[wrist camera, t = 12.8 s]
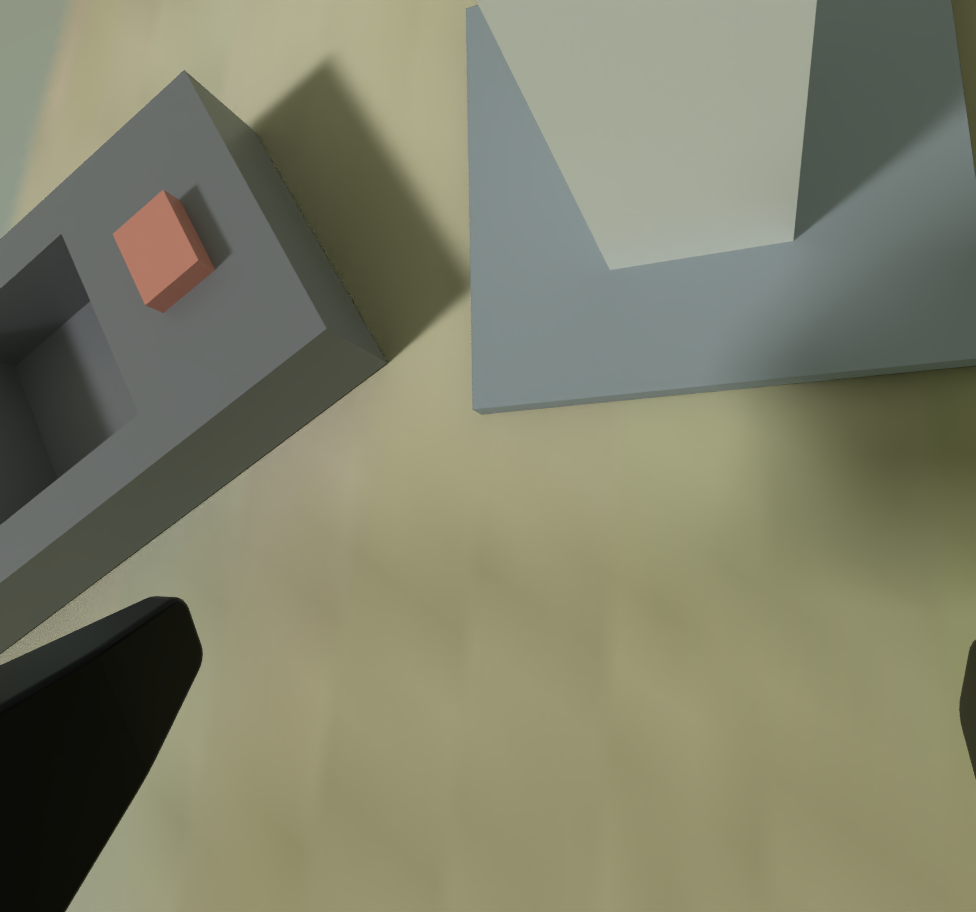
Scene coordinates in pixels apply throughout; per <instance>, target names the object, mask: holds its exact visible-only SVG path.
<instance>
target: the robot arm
mask: <svg viewBox="0 0 976 912" xmlns="http://www.w3.org/2000/svg"><path fill="white" fill-rule="evenodd" d="M202 656H203V652H202V646H201V643H200V640H199V637H198V634H197V631H196V628H195V625H194V622H193V619H192V616H191V614H190V611H189V608H188V606H187V604H186V603H185V602H184V601H183V600H182V599H180V598H177V597H160V596H154V597H149V598H146V599H144V600H142V601H140V602H138V603H135V604H133V605H131V606H129V607H127V608H125V609H122V610H120V611H118V612H116V613H114V614H111V615H109V616H107V617H105V618H103V619H101V620H98V621H96V622H94V623H92V624H90V625H87V626H85V627H83V628H81V629H79V630H77V631H74V632H72V633H70V634H68V635H66V636H63V637H61V638H59V639H57V640H55V641H53V642H50V643H48V644H46V645H44V646H42V647H39V648H37V649H35V650H33V651H31V652H29V653H26V654H24V655H22V656H20V657H18V658H15V659H13V660H11V661H9V662H7V663H5V664H2V665H0V912H65V911H66V910H67V908H68V906H69V905H70V903H71V901H72V900H73V898H74V897H75V895H76V893H77V892H78V890H79V888H80V887H81V885H82V883H83V882H84V880H85V878H86V877H87V875H88V873H89V872H90V870H91V868H92V867H93V865H94V863H95V862H96V860H97V858H98V857H99V855H100V853H101V852H102V850H103V848H104V847H105V845H106V843H107V842H108V840H109V838H110V837H111V835H112V834H113V832H114V830H115V829H116V827H117V825H118V824H119V822H120V820H121V819H122V817H123V815H124V814H125V812H126V810H127V809H128V807H129V805H130V804H131V802H132V800H133V799H134V797H135V795H136V794H137V792H138V790H139V789H140V787H141V785H142V783H143V782H144V780H145V778H146V776H147V775H148V773H149V771H150V769H151V767H152V765H153V763H154V761H155V759H156V757H157V755H158V753H159V751H160V749H161V747H162V745H163V743H164V741H165V739H166V737H167V735H168V733H169V731H170V729H171V726H172V724H173V722H174V720H175V718H176V716H177V714H178V712H179V710H180V708H181V706H182V704H183V702H184V700H185V698H186V696H187V694H188V691H189V689H190V687H191V685H192V683H193V681H194V679H195V677H196V675H197V673H198V671H199V669H200V666H201V662H202ZM959 711H960V721H961V726H962V730H963V734H964V737H965V741H966V745H967V749H968V752H969V756H970V760H971V763H972V767H973V771H974V775H975V778H976V640H975V641H973V643H972V645H971V647H970V650H969V654H968V660H967V665H966V670H965V676H964V681H963V686H962V691H961V697H960V706H959Z"/></svg>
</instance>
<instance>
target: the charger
mask: <svg viewBox="0 0 976 912" xmlns="http://www.w3.org/2000/svg"><path fill="white" fill-rule="evenodd" d="M476 1H477V3H478V5H479V7H480V9H481V11H482V13H483V15H484V17H485V19H486V21H487V23H488V25H489V27H490V29H491V31H492V33H493V35H494V37H495V39H496V41H497V43H498V45H499V47H500V49H501V51H502V54H503V56H504V58H505V60H506V62H507V64H508V66H509V68H510V70H511V72H512V74H513V76H514V78H515V80H516V82H517V84H518V86H519V88H520V90H521V92H522V94H523V96H524V98H525V100H526V102H527V104H528V106H529V108H530V110H531V112H532V114H533V116H534V118H535V120H536V122H537V124H538V126H539V128H540V130H541V132H542V134H543V136H544V138H545V140H546V142H547V144H548V146H549V148H550V150H551V152H552V154H553V156H554V158H555V160H556V162H557V164H558V166H559V168H560V170H561V172H562V174H563V176H564V179H565V181H566V183H567V185H568V187H569V189H570V191H571V193H572V195H573V197H574V199H575V201H576V203H577V205H578V207H579V209H580V211H581V213H582V215H583V217H584V219H585V221H586V223H587V225H588V227H589V229H590V231H591V233H592V235H593V237H594V239H595V241H596V243H597V245H598V247H599V249H600V251H601V253H602V255H603V257H604V259H605V261H606V263H607V265H608V267H609V269H610V270H614V269H620V268H626V267H633V266H639V265H645V264H652V263H658V262H664V261H671V260H677V259H683V258H689V257H696V256H702V255H708V254H715V253H721V252H727V251H734V250H740V249H746V248H753V247H759V246H765V245H771V244H778V243H784V242H790V241H793V239H794V229H795V219H796V209H797V198H798V188H799V178H800V168H801V158H802V148H803V137H804V127H805V117H806V107H807V97H808V86H809V76H810V66H811V56H812V46H813V36H814V25H815V15H816V5H817V0H476Z"/></svg>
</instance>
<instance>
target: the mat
mask: <svg viewBox="0 0 976 912" xmlns="http://www.w3.org/2000/svg"><path fill="white" fill-rule="evenodd" d="M466 43H467V102H468V161H469V219H470V278H471V337H472V396H473V410H475V411H476V412H478V413H480V414H490V413H500V412H510V411H520V410H530V409H541V408H551V407H561V406H571V405H581V404H591V403H601V402H612V401H622V400H632V399H642V398H652V397H662V396H672V395H683V394H693V393H703V392H713V391H723V390H733V389H743V388H754V387H764V386H774V385H784V384H794V383H804V382H815V381H825V380H835V379H845V378H855V377H865V376H875V375H886V374H896V373H906V372H916V371H926V370H936V369H946V368H957V367H967V366H976V177H975V170H974V163H973V155H972V148H971V141H970V133H969V126H968V119H967V111H966V104H965V97H964V89H963V82H962V75H961V68H960V60H959V53H958V46H957V38H956V31H955V24H954V16H953V9H952V2H951V0H817V5H816V15H815V25H814V36H813V46H812V56H811V66H810V76H809V86H808V97H807V107H806V117H805V127H804V137H803V148H802V158H801V168H800V178H799V188H798V198H797V209H796V219H795V229H794V239H793V241H790V242H784V243H778V244H771V245H765V246H759V247H753V248H746V249H740V250H734V251H727V252H721V253H715V254H708V255H702V256H696V257H689V258H683V259H677V260H671V261H664V262H658V263H652V264H645V265H639V266H633V267H626V268H620V269H614V270H610V269H609V267H608V265H607V263H606V261H605V259H604V257H603V255H602V253H601V251H600V249H599V247H598V245H597V243H596V241H595V239H594V237H593V235H592V233H591V231H590V229H589V227H588V225H587V223H586V221H585V219H584V217H583V215H582V213H581V211H580V209H579V207H578V205H577V203H576V201H575V199H574V197H573V195H572V193H571V191H570V189H569V187H568V185H567V183H566V181H565V179H564V176H563V174H562V172H561V170H560V168H559V166H558V164H557V162H556V160H555V158H554V156H553V154H552V152H551V150H550V148H549V146H548V144H547V142H546V140H545V138H544V136H543V134H542V132H541V130H540V128H539V126H538V124H537V122H536V120H535V118H534V116H533V114H532V112H531V110H530V108H529V106H528V104H527V102H526V100H525V98H524V96H523V94H522V92H521V90H520V88H519V86H518V84H517V82H516V80H515V78H514V76H513V74H512V72H511V70H510V68H509V66H508V64H507V62H506V60H505V58H504V56H503V54H502V51H501V49H500V47H499V45H498V43H497V41H496V39H495V37H494V35H493V33H492V31H491V29H490V27H489V25H488V23H487V21H486V19H485V17H484V15H483V13H482V11H481V9H480V7H479V5H476V6H472V7H469V8H466Z"/></svg>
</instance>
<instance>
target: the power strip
mask: <svg viewBox="0 0 976 912" xmlns="http://www.w3.org/2000/svg"><path fill="white" fill-rule="evenodd" d="M385 364H387V361H386V360H385V358H384V356H383V354H382V353H381V351H380V349H379V347H378V346H377V344H376V342H375V340H374V339H373V337H372V335H371V333H370V332H369V330H368V328H367V326H366V325H365V323H364V321H363V319H362V318H361V316H360V314H359V312H358V311H357V309H356V307H355V305H354V304H353V302H352V300H351V298H350V297H349V295H348V293H347V291H346V290H345V288H344V286H343V284H342V283H341V281H340V279H339V277H338V276H337V274H336V272H335V271H334V269H333V267H332V265H331V264H330V262H329V260H328V258H327V257H326V255H325V253H324V251H323V250H322V248H321V246H320V244H319V243H318V241H317V239H316V237H315V236H314V234H313V232H312V230H311V229H310V227H309V225H308V223H307V222H306V220H305V218H304V216H303V215H302V213H301V211H300V209H299V208H298V206H297V204H296V202H295V201H294V199H293V197H292V195H291V194H290V192H289V190H288V188H287V187H286V185H285V183H284V181H283V180H282V178H281V176H280V174H279V173H278V171H277V169H276V167H275V166H274V164H273V162H272V160H271V159H270V157H269V155H268V154H267V152H266V150H265V148H264V147H263V145H262V143H261V141H260V140H259V138H258V136H257V134H256V133H255V131H253V130H252V129H251V128H250V127H249V126H248V125H247V124H245V123H244V122H243V121H242V120H241V119H240V118H239V117H237V116H236V115H235V114H234V113H233V112H232V111H231V110H229V109H228V108H227V107H226V106H225V105H224V104H223V103H221V102H220V101H219V100H218V99H217V98H216V97H215V96H213V95H212V94H211V93H210V92H209V91H208V90H207V89H205V88H204V87H203V86H202V85H201V84H200V83H199V82H197V81H196V80H195V79H194V78H193V77H192V76H191V75H189V74H188V73H187V72H186V71H185V70H184V71H183V72H182V73H181V74H179V75H178V76H177V77H176V78H175V79H174V80H173V81H172V82H171V83H170V84H169V85H167V86H166V87H165V88H164V89H163V90H162V91H161V92H160V93H159V94H158V95H157V96H156V97H154V98H153V99H152V100H151V101H150V102H149V103H148V104H147V105H146V106H145V107H144V108H142V109H141V110H140V111H139V112H138V113H137V114H136V115H135V116H134V117H133V118H132V119H131V120H129V121H128V122H127V123H126V124H125V125H124V126H123V127H122V128H121V129H120V130H119V131H118V132H116V133H115V134H114V135H113V136H112V137H111V138H110V139H109V140H108V141H107V142H106V143H104V144H103V145H102V146H101V147H100V148H99V149H98V150H97V151H96V152H95V153H94V154H93V155H91V156H90V157H89V158H88V159H87V160H86V161H85V162H84V163H83V164H82V165H81V166H80V167H78V168H77V169H76V170H75V171H74V172H73V173H72V174H71V175H70V176H69V177H68V178H66V179H65V180H64V181H63V182H62V183H61V184H60V185H59V186H58V187H57V188H56V189H55V190H53V191H52V192H51V193H50V194H49V195H48V196H47V197H46V198H45V199H44V200H43V201H41V202H40V203H39V204H38V205H37V206H36V207H35V208H34V209H33V210H32V211H31V212H30V213H28V214H27V215H26V216H25V217H24V218H23V219H22V220H21V221H20V222H19V223H18V224H17V225H15V226H14V227H13V228H12V229H11V230H10V231H9V232H8V233H7V234H6V235H5V236H3V237H2V238H1V239H0V653H2V652H3V651H4V650H6V649H7V648H8V647H10V646H11V645H12V644H14V643H15V642H16V641H18V640H19V639H20V638H22V637H23V636H24V635H26V634H27V633H28V632H30V631H31V630H32V629H34V628H35V627H36V626H38V625H39V624H40V623H42V622H43V621H44V620H46V619H47V618H48V617H50V616H51V615H52V614H54V613H55V612H56V611H58V610H59V609H60V608H62V607H63V606H64V605H66V604H67V603H68V602H70V601H71V600H72V599H74V598H75V597H76V596H78V595H79V594H80V593H82V592H83V591H84V590H86V589H87V588H88V587H90V586H91V585H92V584H94V583H95V582H96V581H98V580H99V579H100V578H102V577H103V576H104V575H106V574H107V573H108V572H110V571H111V570H112V569H114V568H115V567H116V566H118V565H119V564H120V563H122V562H123V561H124V560H126V559H127V558H128V557H130V556H131V555H132V554H134V553H135V552H136V551H138V550H139V549H140V548H142V547H143V546H144V545H146V544H147V543H148V542H150V541H151V540H152V539H154V538H155V537H156V536H158V535H159V534H160V533H162V532H163V531H164V530H166V529H167V528H168V527H170V526H171V525H172V524H174V523H175V522H176V521H178V520H179V519H180V518H182V517H183V516H184V515H186V514H187V513H188V512H190V511H191V510H192V509H194V508H195V507H196V506H198V505H199V504H200V503H202V502H203V501H204V500H206V499H207V498H208V497H210V496H211V495H212V494H214V493H215V492H216V491H218V490H219V489H220V488H222V487H223V486H224V485H226V484H227V483H228V482H230V481H231V480H232V479H234V478H235V477H236V476H238V475H239V474H240V473H242V472H243V471H244V470H246V469H247V468H248V467H250V466H251V465H252V464H254V463H255V462H256V461H258V460H259V459H260V458H262V457H263V456H264V455H266V454H267V453H268V452H270V451H271V450H272V449H274V448H275V447H276V446H278V445H279V444H280V443H282V442H283V441H284V440H286V439H287V438H288V437H290V436H291V435H292V434H294V433H295V432H296V431H297V430H299V429H300V428H301V427H303V426H304V425H305V424H307V423H308V422H309V421H311V420H312V419H313V418H315V417H316V416H317V415H319V414H320V413H321V412H323V411H324V410H325V409H327V408H328V407H329V406H331V405H332V404H333V403H335V402H336V401H337V400H339V399H340V398H341V397H343V396H344V395H345V394H347V393H348V392H349V391H351V390H352V389H353V388H355V387H356V386H357V385H359V384H360V383H361V382H363V381H364V380H365V379H367V378H368V377H369V376H371V375H372V374H373V373H375V372H376V371H377V370H379V369H380V368H381V367H383V366H384V365H385Z"/></svg>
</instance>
